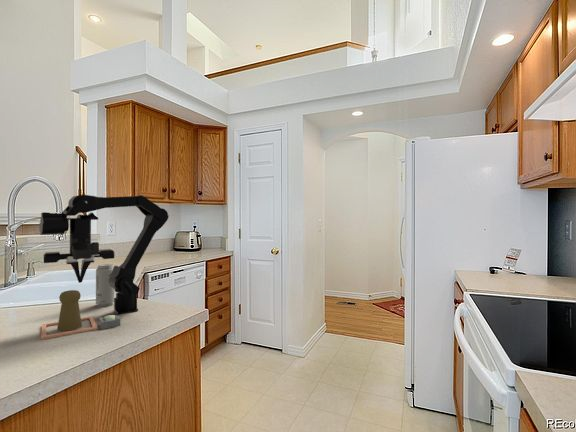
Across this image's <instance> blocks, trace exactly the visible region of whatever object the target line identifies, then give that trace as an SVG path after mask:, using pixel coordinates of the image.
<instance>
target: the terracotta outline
mask: <svg viewBox="0 0 576 432" xmlns="http://www.w3.org/2000/svg"><path fill="white" fill-rule="evenodd" d="M88 320H89V323H90V325H91V327H85V328H78V329H75V330H71V331H62V332H57V333H51V334H47V327H51V326H58V322H59V321H54V322H49V323H42V324H41V335H40V336H41V340H42V341H43V340H47V339H52V338H57V337H62V336H69V335H73V334H74V335H76V334H80V333H85V332H90V331H95V330H98V325H97V323H96V321H95V319H94V317H93V315H91V316H86V317H81V322H82V321H88Z"/></svg>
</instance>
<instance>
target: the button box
mask: <svg viewBox="0 0 576 432" xmlns="http://www.w3.org/2000/svg"><path fill="white" fill-rule="evenodd" d="M98 322H99V323H98V324H99V327H100V329H101V330H105V329H109V328H117V327H120V326H121V318H120V316H119V314H117V315H115V319H114V320H108V321H105V316H104V317H103V316H102V317H99V319H98Z"/></svg>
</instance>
